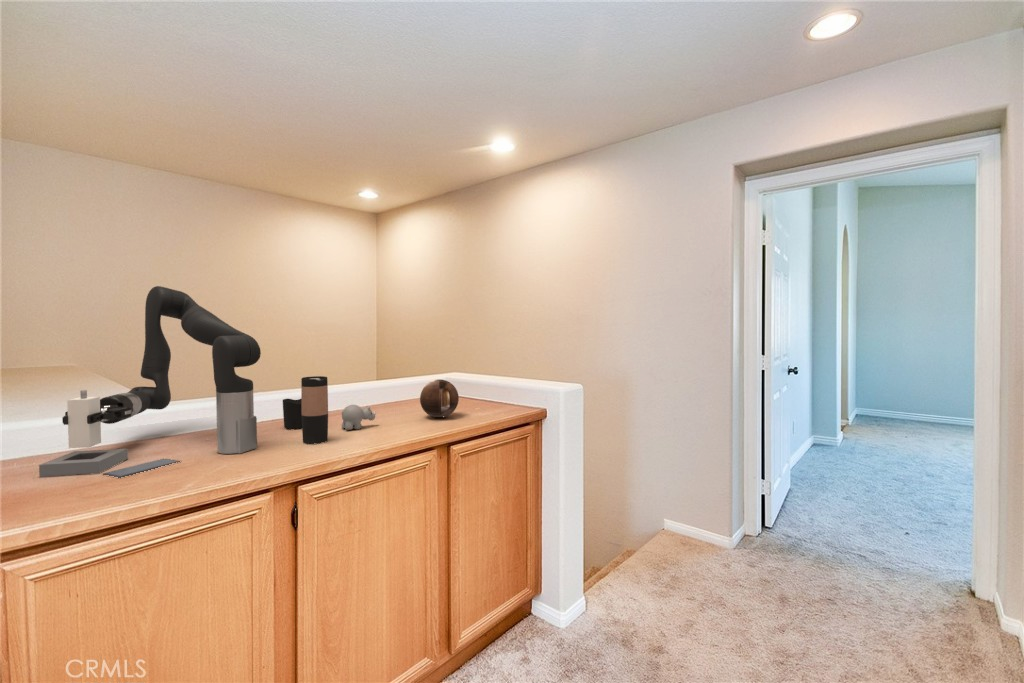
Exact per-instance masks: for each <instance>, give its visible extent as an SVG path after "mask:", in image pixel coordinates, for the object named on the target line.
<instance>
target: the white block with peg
mask: <svg viewBox="0 0 1024 683" xmlns="http://www.w3.org/2000/svg"><path fill="white" fill-rule="evenodd" d="M79 392H80V394H79V395H80V396H78V397H75V398H71V399H67V400H66V403H67V406H66V407H67V409H66V410H67V411H68V425H67V436H68V449H80V448H83V449H84V448H92V447H95V446H96V445H99V444H101V443H102V433H101V432H102V431H101V430H102V427H101V423H102V422H101V421H99V422H96V423H93V424H88V423H87V416H88V415H91V414H94V413H99V412H100V399H101V396H88V390H87V389H82V390H80V391H79Z"/></svg>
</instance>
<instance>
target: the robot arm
mask: <svg viewBox="0 0 1024 683" xmlns="http://www.w3.org/2000/svg"><path fill="white" fill-rule="evenodd" d="M144 310H145V311H144V312H145V313H144V338H145V340H144V352H143V358H142V363H141V368H140V376H141V378H142V379H146V380H150V381H153V382H154V384H155V386H135V387H133V388H131V389H130V390H129V391H128V392H121V393H116V394H113V395H109V396H105V397H104V396H103V397H102V398H100V412H99V413H94V414H91V415H88V416H87V423H88V424H93V423H96V422H99V421H101V423H103V424H107V425H112V424H116V423H119V422H122V421H125V420H127V419H130V418H132V417H134V416H136V415H139V414H141V413H143V412H146V411H147V410H163V409H165V408H167V407H168V406H169V404H170V403H171V400H172V396H171V395H172V394H171V388H170V383H169V382H170V381H169V370H170V365H171V357H172V354H171V353H172V352H171V348H170V346H169V344H168V341H167V338H166V337H165V334H164V332H163V329H162V326H161V325H162V323H161V319H162V317H168V318H174V319H178V320H180V326H181V328H182V330H183V331H184V333H185V334H187V335H188V336H189V337H190V338H192V339H193V340H195V341H196V342H199V343H201V344H203V345H208V346H211V347H212V348H211V357H212V365H213V367H212V368H213V369H212V370H213V380H214V384H215V396H216V397H215V398H216V399H215V400H216V403H215V406H216V442H217V443H216V445H217V448H216V449H217V450H216V451H217V453H218V454H224V455H229V454H230V455H231V454H243V453H245V452H249V451H252V450H255V449H258V433H257V432H258V426H257V425H258V424H257V422H258V419H257V416H256V415H254V414H255V411H254V410H255V408H254V406H255V405H254V404H255V403H254V382H253V380H251V379H249V378H245V377H241V376H239V375H237V373H236V371H235V368H244V367H249V366H253V365H255V364H256V363H258V362H259V360H260V358H261V354H262V353H261V347H260V345H259V343H258V341H257V340H256V338H254V337H252V336H251V335H249V334H247V333H245V332H242V331H240V330H238V329H236V328H235V327H233V326H231V325H230V324H228V323H226V322H225V321H224V320H222V319H221V318H219V317H218V316H216V315H215V314H214V313H212V312H211V311H209V310H207V309H206V308H204V307H202V306H201V305H199V304H198V303H197V302H196V301H195V300H194V299H193V298H192V297H191V296H190V295H189V294H188V293H186V292H183V291H182V290H181V291H180V290H177V289H172V288H168V287H164V286H161V285H160V286H159V285H156V286H153V287H152V288H151V289H150V290H149V291H148V293H147V295H146V300H145V307H144ZM64 414H65V415H63V416H62V417H61V418H62V420H61V421H62V424H63V425H64V426H66V425H67V426H68V410H67V411H65V413H64Z"/></svg>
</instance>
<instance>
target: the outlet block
mask: <svg viewBox="0 0 1024 683" xmlns="http://www.w3.org/2000/svg"><path fill="white" fill-rule="evenodd" d="M128 452H129V451H128V448H115V449H114V448H111V449H95V450H93V449H92V450H91V449H90V450H73V451H72V452H69V453H66V454H64V455H61V456H58V457H56V458H54V459H49V460H48V461H46V462H43V463H41V464H39V465H38V472H39V474H38V475H39V478H49V476H53V477H63V476H62V475H69V476H77V475H76V474H85V475H92V474H91V473H99V474H101V473H103V472H105V471H104V470H106V469H108V468H110V467H112V466H114V465H116V464H118V463H120V462H122V461H124V460H126V459H128V460H129V457H128V456H129V455H128V454H129V453H128ZM126 461H127V460H126ZM124 462H125V461H124ZM122 463H123V462H122ZM120 464H121V463H120ZM118 465H119V464H118ZM116 466H117V465H116ZM114 467H115V466H114ZM112 468H113V467H112ZM110 469H111V468H110ZM108 470H109V469H108ZM102 471H103V472H102ZM106 471H107V470H106ZM100 472H101V473H100Z"/></svg>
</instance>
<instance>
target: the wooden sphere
mask: <svg viewBox="0 0 1024 683" xmlns="http://www.w3.org/2000/svg"><path fill="white" fill-rule="evenodd" d="M459 400H460V398H459V393H458V389H457V388H456V387H455V385H454V384H453V383H451V382H450V381H449V380H446V379H433V380H432V381H429V382H428V383H426V385H425V386H423V388H422V390H421V392H420V396H419V403H420V406H421V408H422V410H423V412H424V413H426V414H427V415H428V416H430V417H432V416H433V417H432V418H435V417H443V416H446V417H448V416H450V415H452V414H453V413H454V411H455V410H456V409H457V407H458V404H459ZM443 418H444V417H443Z"/></svg>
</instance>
